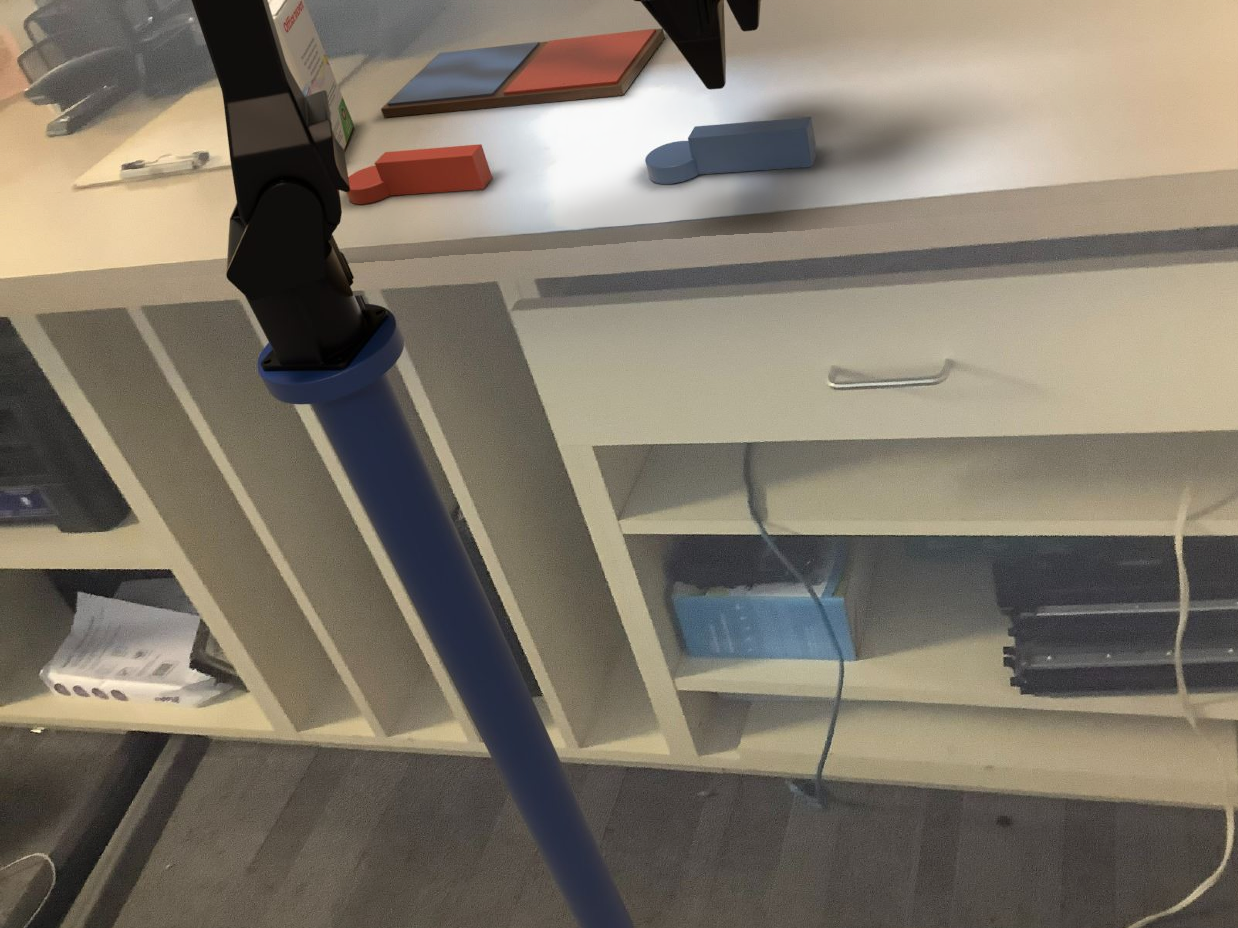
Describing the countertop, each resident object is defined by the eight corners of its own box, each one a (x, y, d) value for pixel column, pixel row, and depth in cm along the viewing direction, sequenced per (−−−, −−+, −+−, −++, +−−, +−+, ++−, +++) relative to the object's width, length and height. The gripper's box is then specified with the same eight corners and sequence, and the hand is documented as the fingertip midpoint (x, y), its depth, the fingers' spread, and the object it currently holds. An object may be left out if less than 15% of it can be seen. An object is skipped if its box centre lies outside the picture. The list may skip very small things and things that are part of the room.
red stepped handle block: (498, 170, 84) (487, 136, 82) (477, 196, 81) (465, 162, 79) (364, 180, 87) (351, 148, 86) (340, 205, 85) (325, 173, 83)
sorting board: (623, 95, 90) (620, 82, 89) (383, 117, 97) (379, 106, 96) (665, 37, 98) (662, 25, 98) (441, 61, 105) (437, 51, 105)
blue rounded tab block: (819, 147, 76) (815, 109, 74) (808, 174, 73) (803, 136, 72) (658, 158, 80) (650, 123, 78) (641, 185, 77) (632, 149, 75)
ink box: (301, 138, 97) (238, -5, 90) (356, 125, 97) (298, -20, 89) (280, 180, 91) (211, 30, 83) (340, 167, 90) (275, 14, 83)
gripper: (798, -220, 52) (836, 110, 62) (860, -294, 65) (883, -10, 75) (575, -181, 56) (646, 126, 66) (676, -258, 69) (722, 9, 79)
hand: (734, 57), depth 71 cm, fingers open, 9 cm apart
